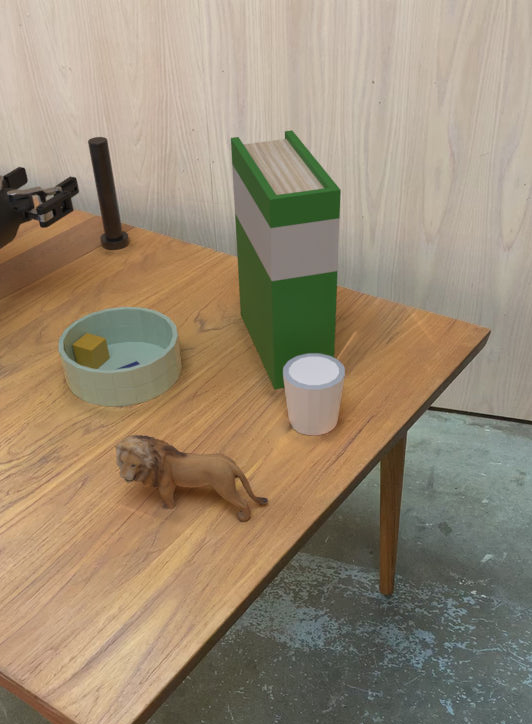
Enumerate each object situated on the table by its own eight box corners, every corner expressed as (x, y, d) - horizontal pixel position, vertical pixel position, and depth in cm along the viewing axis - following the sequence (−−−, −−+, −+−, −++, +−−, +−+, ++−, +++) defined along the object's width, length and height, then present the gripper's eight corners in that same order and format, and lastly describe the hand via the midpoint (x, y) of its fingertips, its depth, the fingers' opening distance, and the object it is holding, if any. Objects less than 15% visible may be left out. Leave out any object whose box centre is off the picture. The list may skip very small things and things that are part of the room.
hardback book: (240, 318, 106) (230, 137, 90) (293, 309, 108) (292, 130, 91) (274, 393, 94) (269, 199, 77) (333, 382, 95) (340, 189, 79)
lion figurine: (122, 524, 79) (107, 458, 72) (129, 487, 82) (116, 421, 76) (268, 522, 78) (265, 455, 72) (268, 485, 82) (265, 419, 76)
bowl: (44, 393, 95) (33, 355, 91) (109, 334, 104) (102, 297, 101) (143, 422, 90) (137, 383, 87) (202, 357, 100) (198, 320, 96)
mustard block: (76, 364, 98) (71, 344, 96) (91, 352, 100) (86, 332, 98) (95, 370, 97) (91, 350, 95) (110, 358, 99) (106, 338, 97)
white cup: (277, 434, 88) (276, 384, 83) (290, 398, 93) (289, 349, 88) (337, 442, 87) (339, 392, 82) (347, 405, 92) (350, 355, 87)
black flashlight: (96, 247, 123) (76, 144, 112) (109, 235, 126) (91, 133, 115) (121, 251, 122) (103, 147, 111) (134, 239, 125) (118, 136, 114)
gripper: (8, 209, 91) (88, 158, 101) (-85, 190, 95) (1, 143, 106) (23, 268, 96) (98, 213, 106) (-66, 247, 100) (14, 197, 111)
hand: (49, 178), depth 106 cm, fingers open, 8 cm apart
